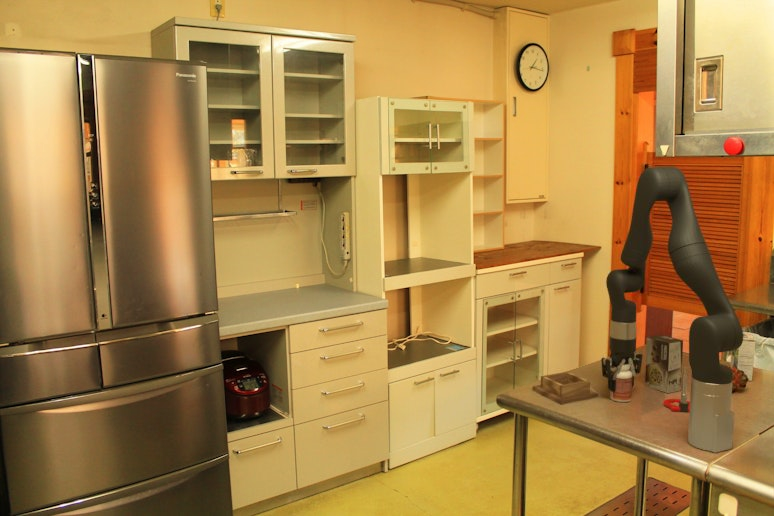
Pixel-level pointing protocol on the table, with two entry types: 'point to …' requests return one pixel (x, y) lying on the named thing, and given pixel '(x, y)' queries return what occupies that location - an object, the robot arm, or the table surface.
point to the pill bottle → (623, 385)
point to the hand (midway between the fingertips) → (620, 389)
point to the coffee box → (664, 363)
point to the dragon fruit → (738, 379)
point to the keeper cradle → (565, 388)
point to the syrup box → (744, 356)
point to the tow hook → (683, 403)
